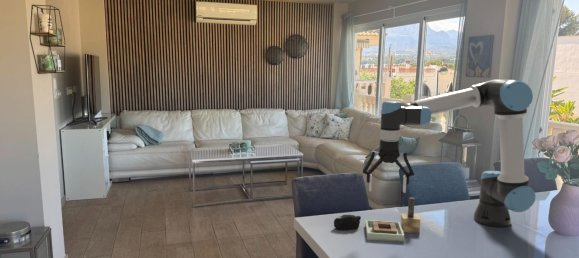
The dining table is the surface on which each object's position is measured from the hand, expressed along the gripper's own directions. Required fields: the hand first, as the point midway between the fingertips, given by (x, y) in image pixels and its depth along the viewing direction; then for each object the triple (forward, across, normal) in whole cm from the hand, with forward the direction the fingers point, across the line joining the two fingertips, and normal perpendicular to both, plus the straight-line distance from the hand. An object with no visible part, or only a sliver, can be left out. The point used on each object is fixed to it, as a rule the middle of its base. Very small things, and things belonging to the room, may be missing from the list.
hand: (387, 191), depth 169 cm
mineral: (+19, +16, -6) cm, 25 cm away
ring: (+18, 0, 0) cm, 18 cm away
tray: (+19, 0, -1) cm, 19 cm away
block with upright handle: (+19, -11, -7) cm, 23 cm away
